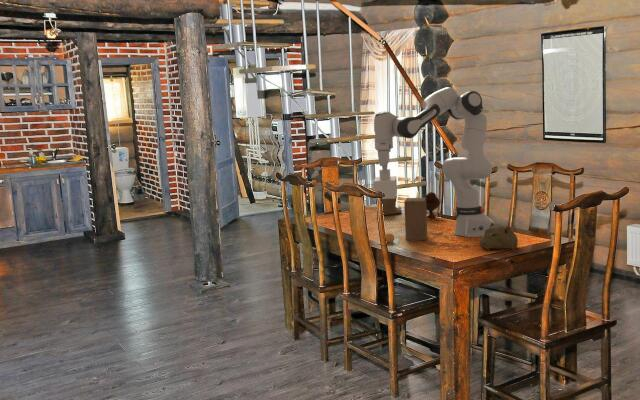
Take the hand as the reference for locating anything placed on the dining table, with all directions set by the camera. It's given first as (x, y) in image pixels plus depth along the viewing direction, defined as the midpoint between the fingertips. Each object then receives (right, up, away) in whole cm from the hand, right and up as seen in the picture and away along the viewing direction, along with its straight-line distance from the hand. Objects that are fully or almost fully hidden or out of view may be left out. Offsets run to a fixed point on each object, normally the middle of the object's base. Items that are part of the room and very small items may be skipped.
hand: (385, 173), depth 342 cm
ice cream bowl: (+32, -24, +59) cm, 72 cm away
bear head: (+50, -36, -21) cm, 65 cm away
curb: (+1, -35, 0) cm, 35 cm away
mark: (+2, -34, +6) cm, 35 cm away
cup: (+1, -11, +2) cm, 12 cm away
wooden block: (+17, -33, +9) cm, 38 cm away
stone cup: (+11, -22, +76) cm, 80 cm away
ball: (+2, -32, +2) cm, 32 cm away
